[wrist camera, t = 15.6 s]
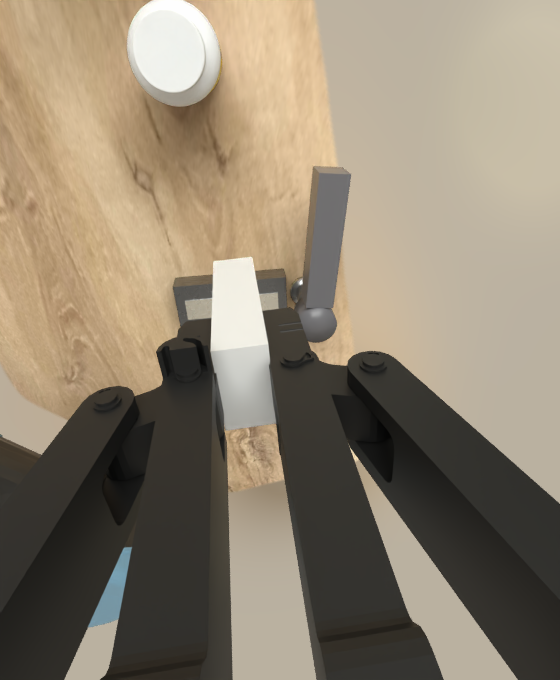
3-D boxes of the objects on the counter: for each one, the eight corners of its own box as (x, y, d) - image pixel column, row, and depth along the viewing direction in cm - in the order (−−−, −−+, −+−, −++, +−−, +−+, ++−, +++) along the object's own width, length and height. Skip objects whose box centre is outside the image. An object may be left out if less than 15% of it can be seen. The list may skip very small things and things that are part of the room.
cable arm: (306, 165, 40) (313, 173, 37) (348, 167, 41) (358, 175, 38) (292, 325, 49) (297, 342, 46) (327, 325, 50) (334, 342, 46)
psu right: (236, 318, 54) (237, 328, 51) (231, 273, 51) (232, 282, 48) (285, 313, 54) (287, 324, 52) (283, 268, 51) (285, 277, 49)
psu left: (183, 323, 53) (182, 334, 51) (175, 277, 50) (172, 287, 48) (232, 318, 54) (233, 329, 51) (227, 273, 50) (227, 282, 48)
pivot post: (290, 304, 53) (295, 323, 49) (289, 277, 52) (294, 295, 48) (319, 302, 54) (327, 321, 50) (319, 275, 52) (327, 292, 48)
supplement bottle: (237, 62, 40) (241, 59, 29) (187, 116, 42) (174, 132, 31) (181, -8, 37) (163, -41, 26) (131, 54, 39) (94, 47, 28)
